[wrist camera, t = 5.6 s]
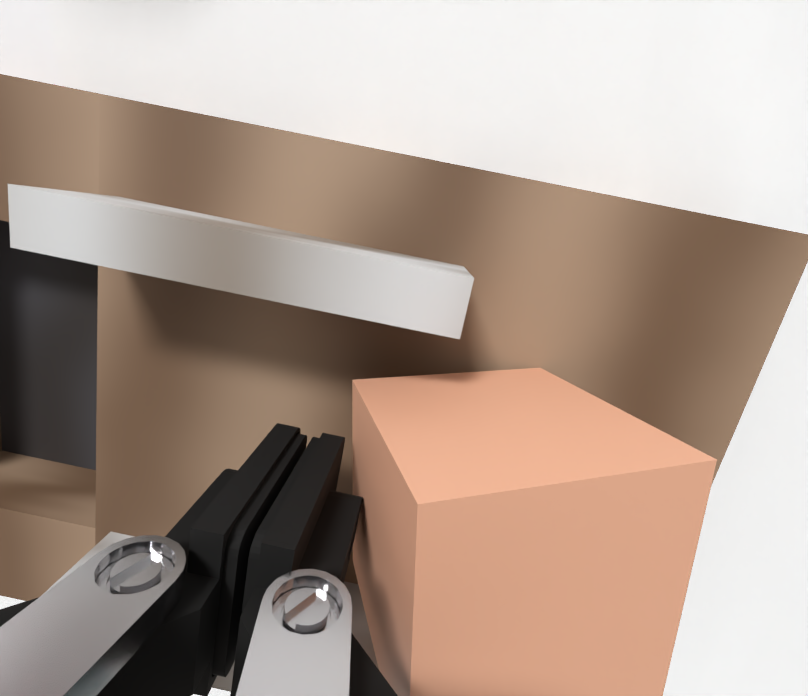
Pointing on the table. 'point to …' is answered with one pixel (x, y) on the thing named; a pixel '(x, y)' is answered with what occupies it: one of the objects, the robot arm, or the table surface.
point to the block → (520, 536)
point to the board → (316, 307)
